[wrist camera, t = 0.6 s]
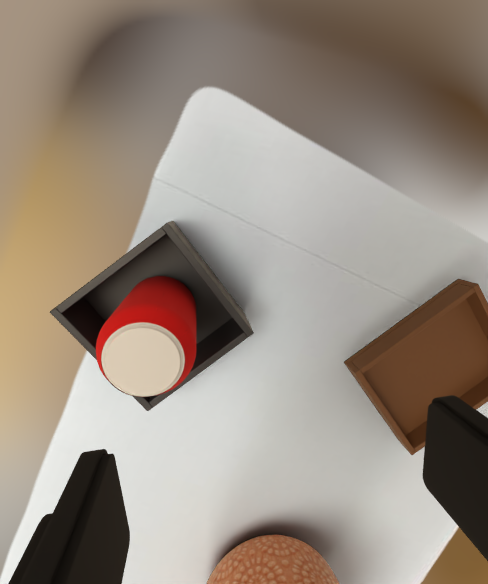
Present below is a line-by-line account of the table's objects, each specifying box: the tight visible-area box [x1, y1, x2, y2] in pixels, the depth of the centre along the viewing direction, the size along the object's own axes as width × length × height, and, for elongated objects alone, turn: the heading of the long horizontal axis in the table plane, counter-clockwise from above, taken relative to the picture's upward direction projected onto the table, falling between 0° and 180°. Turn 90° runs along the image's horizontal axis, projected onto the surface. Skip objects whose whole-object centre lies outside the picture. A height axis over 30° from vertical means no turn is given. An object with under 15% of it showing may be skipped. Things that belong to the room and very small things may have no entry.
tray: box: [344, 279, 488, 455], centre depth 36 cm, size 15×13×3 cm
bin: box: [50, 221, 254, 411], centre depth 29 cm, size 11×11×6 cm
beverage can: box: [96, 276, 196, 397], centre depth 25 cm, size 6×6×12 cm
